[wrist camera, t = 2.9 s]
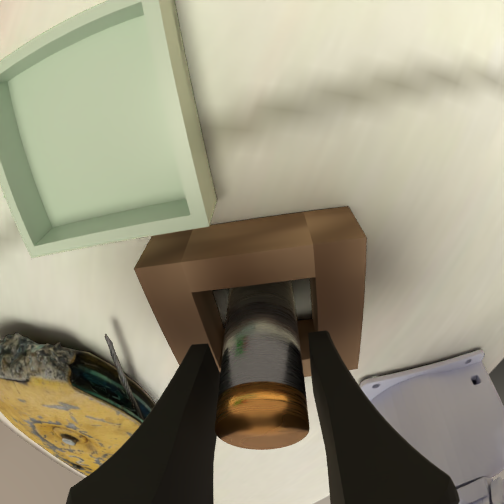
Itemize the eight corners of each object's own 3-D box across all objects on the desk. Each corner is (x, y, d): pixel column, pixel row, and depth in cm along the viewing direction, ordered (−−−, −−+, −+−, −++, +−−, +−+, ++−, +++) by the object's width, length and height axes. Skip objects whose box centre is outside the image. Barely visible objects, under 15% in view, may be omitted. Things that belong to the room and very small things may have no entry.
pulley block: (86, 503, 26) (-73, 353, 10) (89, 467, 31) (-38, 296, 15) (194, 512, 28) (117, 380, 12) (191, 473, 33) (134, 297, 17)
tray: (173, -3, 8) (155, -18, 6) (217, 200, 12) (209, 226, 10) (6, 74, 9) (-27, 81, 7) (55, 233, 13) (31, 258, 11)
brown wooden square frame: (348, 206, 12) (366, 236, 10) (347, 331, 16) (357, 368, 14) (152, 234, 13) (134, 268, 11) (197, 348, 16) (190, 385, 14)
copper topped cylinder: (288, 259, 13) (307, 406, 7) (295, 308, 15) (310, 445, 9) (223, 267, 14) (203, 413, 8) (236, 315, 15) (226, 450, 9)
